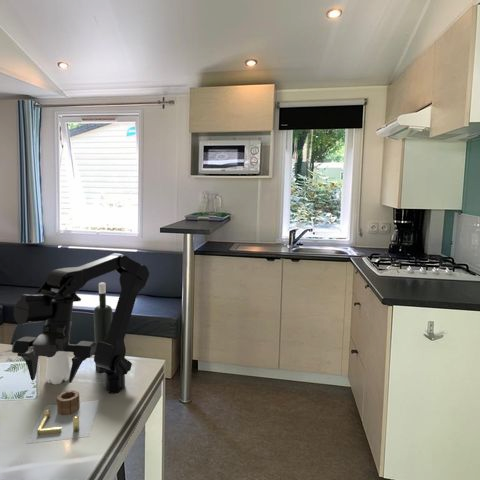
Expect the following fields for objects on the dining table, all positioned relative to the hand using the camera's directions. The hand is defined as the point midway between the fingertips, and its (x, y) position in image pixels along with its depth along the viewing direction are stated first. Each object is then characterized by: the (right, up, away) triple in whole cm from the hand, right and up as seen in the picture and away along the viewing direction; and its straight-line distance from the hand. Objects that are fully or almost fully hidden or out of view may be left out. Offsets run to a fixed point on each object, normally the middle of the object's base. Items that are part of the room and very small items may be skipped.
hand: (51, 381), depth 94 cm
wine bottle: (+2, -8, +32) cm, 33 cm away
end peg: (+7, -12, -2) cm, 14 cm away
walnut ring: (+1, -10, +7) cm, 13 cm away
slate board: (+3, -12, +3) cm, 12 cm away
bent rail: (0, -11, +1) cm, 11 cm away
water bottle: (-10, -9, +23) cm, 27 cm away
